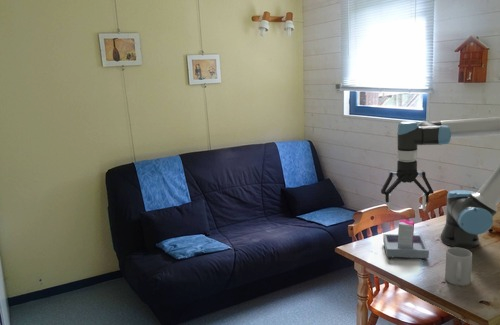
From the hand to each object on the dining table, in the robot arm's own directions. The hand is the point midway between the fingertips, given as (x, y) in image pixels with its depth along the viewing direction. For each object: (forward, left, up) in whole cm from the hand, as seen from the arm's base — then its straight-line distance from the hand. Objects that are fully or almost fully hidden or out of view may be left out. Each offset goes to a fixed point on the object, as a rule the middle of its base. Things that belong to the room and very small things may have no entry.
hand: (406, 209), depth 174 cm
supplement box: (0, +1, -17) cm, 17 cm away
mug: (-15, +24, -19) cm, 34 cm away
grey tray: (0, 0, -19) cm, 19 cm away
